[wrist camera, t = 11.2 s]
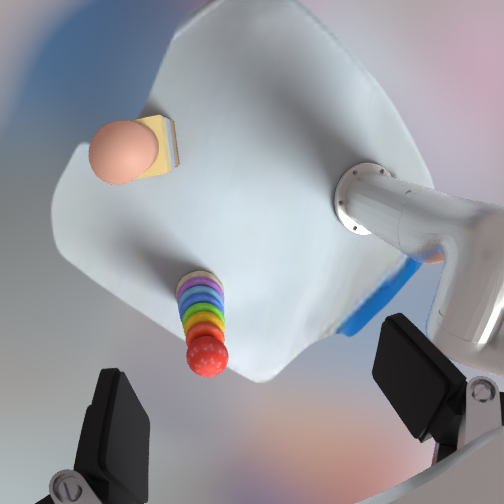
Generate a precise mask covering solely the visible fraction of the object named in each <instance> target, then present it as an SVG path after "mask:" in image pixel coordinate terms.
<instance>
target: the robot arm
mask: <svg viewBox="0 0 504 504" xmlns="http://www.w3.org/2000/svg"><path fill="white" fill-rule="evenodd" d="M339 201H340V202H339ZM334 205H335V211H336V214H337V217H338V219H339V220H340V222H341V223H342V224H343V225H344V227H346V228H347V229H348V230H350V231H351V232H353V233H356V234H361V235H366V234H371V233H372V234H374V235H376V236H377V237H379V238H380V239H382V240H384V241H385V242H387V243H388V244H390V245H392V246H393V247H395V248H396V249H398V250H399V251H401V252H403V253H404V254H406V255H407V256H409V257H410V258H412V259H414V260H416V261H418V262H421V263H427V264H432V263H437V262H441V261H444V264H443V268H442V272H441V277H440V281H439V284H438V287H437V290H436V294H435V296H434V300H433V302H432V305H431V308H430V311H429V314H428V318H427V321H426V327H425V331H426V332H425V333H426V336H425V335H424V334H423V333H422V332H421V331H420V330H419V329H418V328H417V327H416V326H415V325H414V324H413V323H412V322H411V321H410V320H408V318H407V317H405V316H404V315H403V314H402V313H397V314H394V315H391V316H388V317H386V319H385V321H384V322H383V323H382V327H381V332H380V337H379V342H378V348H377V352H376V356H375V361H374V365H373V369H372V375H373V378H374V380H375V382H376V383H377V384H378V386H379V387H380V389H381V390H382V392H383V393H384V394H385V396H386V397H387V399H388V400H389V402H390V403H391V405H392V406H393V408H394V409H395V411H396V412H397V414H398V415H399V417H400V418H401V420H402V421H403V423H404V424H405V425H406V427H407V428H408V430H409V431H410V433H411V434H412V435H413V437H414V438H416V439H417V438H418V439H419V441H420V442H421V443H423V442H424V441H426V440H428V439H430V438H431V437H433V438H434V440H435V448H434V453H433V459H432V464H431V467H430V468H428V469H426V470H425V471H423V472H421V473H419V474H417V475H415V476H414V477H412V478H410V479H408V480H406V481H404V482H402V483H400V484H398V485H396V486H394V487H392V488H390V489H388V490H386V491H384V492H382V493H379V494H377V495H375V496H372V497H370V498H367V499H365V500H363V501H360V502H358V503H355V504H504V392H499V390H498V386H497V385H496V383H495V382H494V381H493V380H491V379H490V378H487V377H484V376H477V377H474V378H472V379H471V380H470V381H469V382H467V381H466V377H465V376H464V375H463V374H462V373H461V372H460V371H459V370H458V368H457V367H456V366H454V364H453V363H451V361H450V360H449V359H451V360H453V361H456V362H458V363H461V364H464V365H467V366H469V367H472V368H476V369H478V370H481V371H484V372H488V373H491V374H494V375H497V376H500V377H503V378H504V207H503V206H500V205H497V204H492V203H486V202H480V201H473V200H468V199H464V198H459V197H456V196H452V195H449V194H445V193H442V192H439V191H436V190H433V189H430V188H426V187H423V186H420V185H417V184H413V183H410V182H406V181H403V180H400V179H396V178H392V176H391V175H390V173H389V172H388V171H387V170H386V169H385V168H383V167H382V166H380V165H377V164H374V163H360V164H357V165H355V166H353V167H351V168H350V169H349V170H347V171H346V172H345V174H344V175H343V176H342V177H341V179H340V181H339V183H338V185H337V188H336V192H335V198H334ZM448 358H449V359H448ZM149 437H150V421H149V417H148V415H147V414H146V412H145V410H144V409H143V407H142V405H141V403H140V401H139V400H138V398H137V396H136V394H135V392H134V390H133V388H132V386H131V385H130V383H129V381H128V379H127V377H126V375H125V373H124V372H120V371H119V369H118V368H108V369H102V370H101V372H100V375H99V378H98V382H97V385H96V389H95V393H94V397H93V400H92V404H91V405H89V407H88V408H87V410H86V414H85V418H84V422H83V426H82V430H81V435H80V440H79V444H78V449H77V453H76V459H75V464H74V469H73V470H69V469H68V470H61V471H59V472H57V473H56V474H55V475H54V476H53V477H52V479H51V480H50V484H49V492H50V494H49V495H48V496H46V497H45V498H43V499H42V500H40V501H39V502H37V503H35V504H144V503H147V502H148V464H149V461H148V460H149Z"/></svg>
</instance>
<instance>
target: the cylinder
mask: <svg viewBox="0 0 504 504" xmlns="http://www.w3.org/2000/svg"><path fill="white" fill-rule="evenodd" d="M158 152H159V142H158V139H157V136H156V134H155V133H154V132H153V130H152V129H150V128H149V127H148V126H146V125H143V124H139V123H135V122H131V121H125V120H117V121H113V122H110V123H108V124H106V125H104V126H103V127H102V128H100V129H99V130H98V131H97V133H96V134H95V135H94V137H93V139H92V141H91V143H90V147H89V162H90V165H91V168H92V170H93V171H94V173H95V174H96V175H97V176H98V177H99V178H100V179H101V180H103V181H105V182H107V183H110V184H125V183H128V182H130V181H132V180H134V179H135V178H137V177H138V176H139V175H141V174H142V173H143V172H145V171H146V170H147V169H149V168H150V167H151V166H152V165H153V164H154V162H155V161H156V158H157V156H158Z"/></svg>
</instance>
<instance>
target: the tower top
mask: <svg viewBox="0 0 504 504" xmlns="http://www.w3.org/2000/svg"><path fill="white" fill-rule="evenodd" d="M131 122H135V123H139V124H143V125H146V126H148V127H149V128H150V129H152V130H153V132H154V133H155V134H156V136H157V139H158V142H159V152H158V156H157V158H156V161H155V162H154V164H153V165H152V166H151V167H150V168H149V169H147V170H146V171H145V172H143V173H142V174H141V175H139V176H138V177H137V178H135V179H140V178H145V177H150V176H155V175H161V174H167V173H168V172H169V171H170V170H171V169H172V166H171V159H170V151H169V144H168V136H167V127H166V119H165V118H164V117H163V116H161V115H156V116H150V117H145V118H141V119H136V120H132V121H131ZM135 179H134V180H135ZM111 185H112V184H111Z"/></svg>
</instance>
